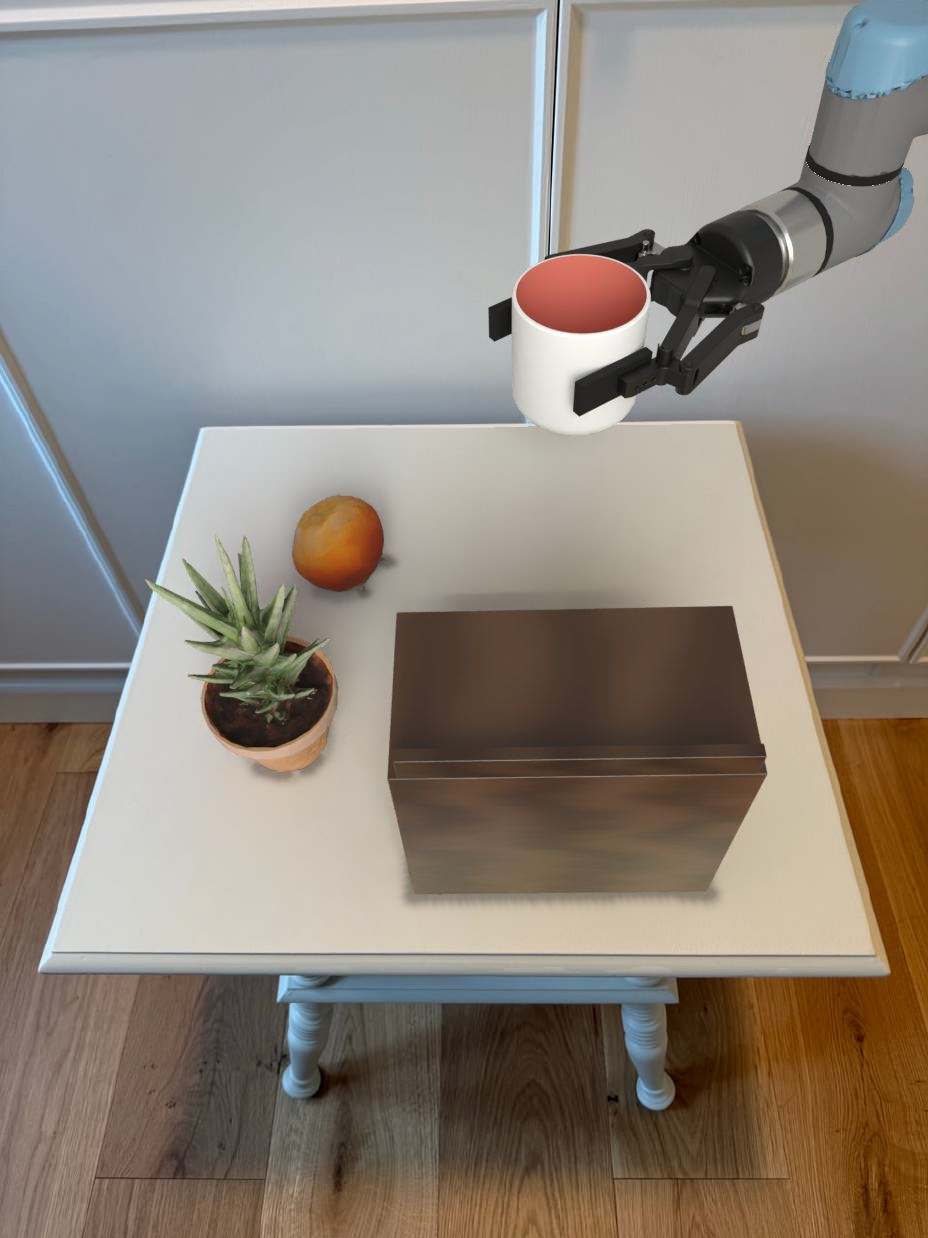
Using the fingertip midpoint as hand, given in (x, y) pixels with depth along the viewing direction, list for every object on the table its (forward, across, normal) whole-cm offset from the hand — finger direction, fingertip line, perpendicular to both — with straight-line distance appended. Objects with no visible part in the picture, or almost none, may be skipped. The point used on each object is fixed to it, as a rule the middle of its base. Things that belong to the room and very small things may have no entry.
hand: (532, 360), depth 68 cm
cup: (-4, 0, -6) cm, 8 cm away
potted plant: (+28, -7, -18) cm, 34 cm away
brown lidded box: (+15, -24, -18) cm, 34 cm away
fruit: (+16, +5, -18) cm, 25 cm away
